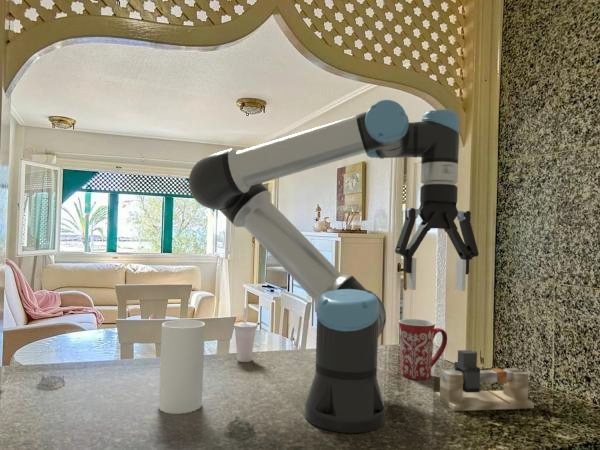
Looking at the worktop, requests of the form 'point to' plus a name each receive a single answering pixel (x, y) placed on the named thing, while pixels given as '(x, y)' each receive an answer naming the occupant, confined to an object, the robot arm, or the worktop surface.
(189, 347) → the cup
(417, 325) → the mug
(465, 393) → the rail
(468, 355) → the dark grey sliding collar
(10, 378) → the worktop surface
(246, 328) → the smoothie
